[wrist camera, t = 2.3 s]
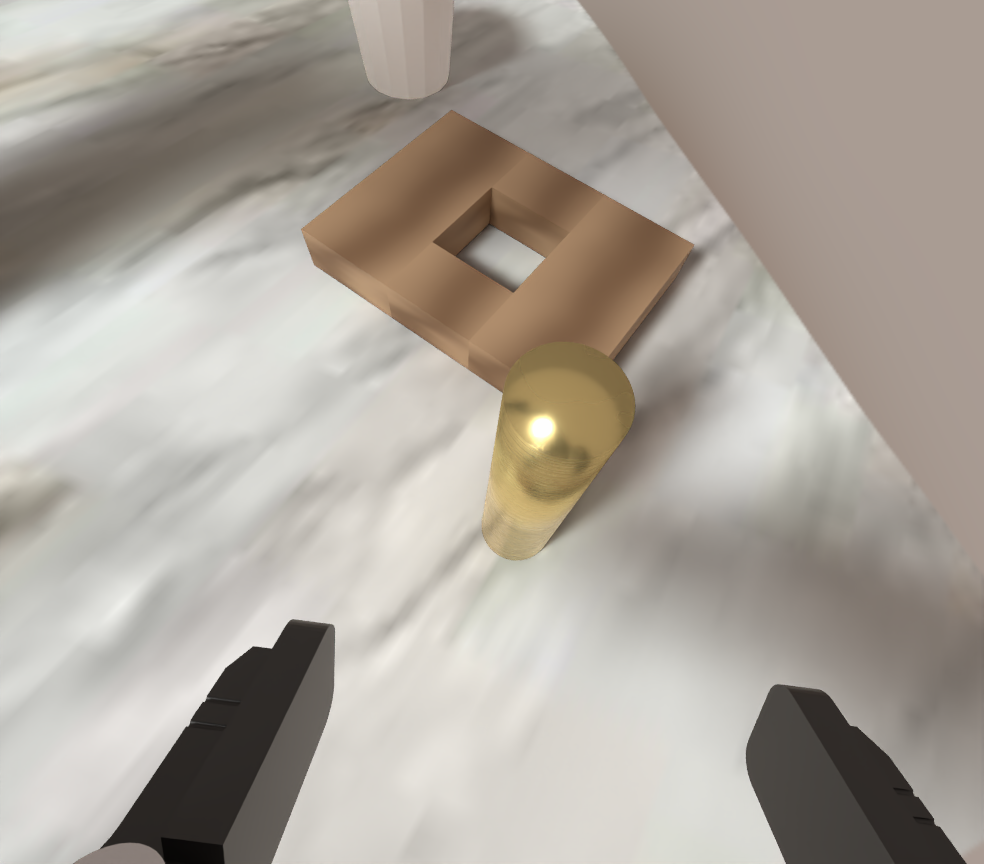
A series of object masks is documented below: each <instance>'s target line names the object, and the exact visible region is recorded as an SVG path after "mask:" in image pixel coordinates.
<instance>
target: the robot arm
mask: <svg viewBox="0 0 984 864" xmlns="http://www.w3.org/2000/svg"><path fill="white" fill-rule="evenodd" d="M334 659H335V628H334V625H332V624H325V623H317V622H310V621H302V620H294V619H292V620H290V621H289V622H288V624H287V625H286V626H285V628H284V630H283V631H282V633H281V635H280V637H279V638H278V640H277V642H276V643H275V645H274V647H273V648H272V649H270V648H262V647H254V646H253V647H252V648H251V649H249V650H248V651H247V652H246V653H244V654H243V655H242V656H241V657H239V658H238V659H237V660H235V661H234V662H233V663H232V664H230V665H229V666H228V667H227V668H226V669H225V670H224V671H223V673H222V674H221V676H220V677H219V679H218V680H217V682H216V683H215V685H214V686H213V688H212V689H211V691H210V692H209V694H208V695H207V698H206V701H205V702H203V703H202V704H201V706H200V707H199V708H198V710H197V711H196V713H195V714H194V716H193V717H192V719H191V721H190V725H189V726H188V727H186V728H185V729H184V731H183V732H182V734H181V735H180V737H179V738H178V740H177V741H176V743H175V744H174V746H173V747H172V748H171V750H170V751H169V753H168V754H167V756H166V757H165V759H164V760H163V762H162V763H161V765H160V766H159V768H158V769H157V771H156V772H155V774H154V775H153V777H152V778H151V780H150V781H149V783H148V784H147V785H146V787H145V788H144V790H143V791H142V793H141V794H140V796H139V797H138V799H137V800H136V802H135V803H134V805H133V806H132V808H131V809H130V811H129V812H128V814H127V815H126V817H125V818H124V820H123V821H122V822H121V824H120V825H119V827H118V828H117V829H116V831H115V832H114V833H113V835H112V836H111V837H110V838H109V839H108V840H107V842H106V843H105V844H104V845H103V846H102V847H101V848H100V849H99V850H97V851H94V852H92V853H90V854H88V855H86V856H85V857H83V858H81V859H79V860H78V861H76V862H75V863H73V864H271V863H272V861H273V858H274V856H275V853H276V850H277V848H278V845H279V843H280V840H281V838H282V835H283V833H284V830H285V827H286V825H287V822H288V820H289V817H290V815H291V812H292V809H293V807H294V804H295V802H296V799H297V797H298V794H299V792H300V789H301V786H302V784H303V781H304V779H305V776H306V774H307V771H308V769H309V766H310V763H311V761H312V758H313V756H314V753H315V751H316V748H317V746H318V743H319V740H320V738H321V735H322V733H323V730H324V728H325V725H326V722H327V719H328V715H329V712H330V708H331V703H332V698H333V691H334ZM746 764H747V770H748V775H749V778H750V781H751V784H752V786H753V789H754V791H755V793H756V796H757V798H758V800H759V802H760V805H761V807H762V809H763V812H764V814H765V816H766V819H767V821H768V823H769V825H770V828H771V830H772V832H773V835H774V837H775V839H776V842H777V844H778V846H779V848H780V851H781V853H782V855H783V858H784V860H785V862H786V864H966V863H965V861H964V860H963V858H962V857H961V855H960V854H959V853H958V851H957V850H956V849H955V847H954V846H953V844H952V843H951V842H950V840H949V839H948V837H947V836H946V835H945V833H944V832H943V831H942V829H941V828H940V827H938V826H936V825H935V824H934V818H933V817H932V815H931V814H930V813H929V811H928V810H927V808H926V807H925V806H924V804H923V803H922V802H921V800H920V799H919V797H915V796H914V794H913V789H912V788H911V786H910V785H909V784H908V782H907V781H906V779H905V778H904V777H903V775H902V774H901V773H900V771H899V770H898V768H897V767H896V766H895V764H894V763H893V761H892V760H891V759H890V757H889V756H888V755H887V754H886V753H885V752H884V751H882V750H881V749H880V748H879V747H878V746H877V745H876V744H875V743H874V742H873V741H872V740H871V739H869V738H868V737H867V736H866V735H865V734H864V733H863V732H862V731H861V730H860V729H859V728H858V727H855V726H850V725H849V724H848V722H847V721H846V719H845V718H844V716H843V715H842V713H841V712H840V710H839V709H838V708H837V706H836V705H835V703H834V702H833V700H832V699H831V698H830V697H829V696H828V695H827V694H826V693H825V692H824V691H822V690H818V689H810V688H803V687H795V686H788V685H779V684H777V685H774V686H773V687H772V688H771V689H770V691H769V693H768V695H767V698H766V700H765V703H764V705H763V707H762V710H761V712H760V714H759V717H758V719H757V721H756V724H755V726H754V728H753V731H752V733H751V736H750V738H749V740H748V743H747V748H746Z"/></svg>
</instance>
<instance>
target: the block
mask: <svg viewBox="0 0 984 864" xmlns="http://www.w3.org/2000/svg"><path fill="white" fill-rule="evenodd" d="M488 224H491V225H492V226H494V227H496V228H497V229H499V230H501V231H502V232H504V233H506V234H507V235H509V236H511V237H512V238H514V239H516V240H517V241H519V242H521V243H522V244H524V245H526V246H527V247H529V248H531V249H532V250H534V251H536V252H537V253H539V254H541V255H542V256H544V257H546V259H545V260H544V261H543V262H542V263H541V264H540V265H539V266H538V267H537V268H536V269H535V270H534V271H533V272H532V274H531V275H530V276H529V277H528V278H527V279H526V280H525V281H524V282H523V283H522V284H521V285H520V286H519V287H518V289H517V290H516V291H515V292H514V293H513V292H511V291H510V290H508V289H506V288H505V287H503V286H502V285H500V284H498V283H497V282H495V281H494V280H492V279H490V278H489V277H487V276H486V275H484V274H483V273H481V272H479V271H478V270H476V269H475V268H473V267H471V266H470V265H468V264H467V263H465V262H463V261H462V260H460V259H459V258H457V257H455V256H456V255H457V254H458V253H459V252H460V251H461V250H462V249H463V248H464V247H465V246H467V245H468V244H469V243H470V242H471V241H472V240H473V239H474V238H475V237H476V236H477V235H478V234H479V233H480V232H481V231H482V230H483V229H484V228H485V227H486V226H487V225H488ZM301 230H302V233H303V236H304V238H305V241H306V244H307V247H308V249H309V252H310V255H311V257H312V260H313V263H314V265H315V266H317V267H318V268H320V269H321V270H323V271H324V272H326V273H327V274H329V275H330V276H332V277H333V278H334V279H336V280H337V281H339V282H340V283H342V284H343V285H345V286H346V287H348V288H349V289H351V290H352V291H354V292H355V293H357V294H358V295H360V296H361V297H362V298H364V299H365V300H367V301H368V302H370V303H371V304H373V305H374V306H376V307H377V308H379V309H380V310H382V311H383V312H385V313H386V314H388V315H389V316H390V317H392V318H393V319H395V320H396V321H398V322H399V323H401V324H402V325H404V326H405V327H407V328H408V329H410V330H411V331H413V332H414V333H416V334H417V335H418V336H420V337H421V338H423V339H424V340H426V341H427V342H429V343H430V344H432V345H433V346H435V347H436V348H438V349H439V350H441V351H442V352H443V353H445V354H446V355H448V356H449V357H451V358H452V359H454V360H455V361H457V362H458V363H460V364H461V365H463V366H464V367H466V368H467V369H469V370H470V371H471V372H473V373H474V374H476V375H477V376H479V377H480V378H482V379H483V380H485V381H486V382H488V383H489V384H491V385H492V386H494V387H495V388H497V389H498V390H499V391H501V392H502V393H503V389H504V384H505V380H506V378H507V375H508V373H509V371H510V369H511V367H512V366H513V365H514V363H515V362H516V361H517V360H518V359H519V358H520V357H521V356H522V355H524V354H525V353H526V352H528V351H530V350H531V349H533V348H536V347H538V346H540V345H544V344H547V343H553V342H573V343H579V344H583V345H586V346H589V347H592V348H594V349H596V350H598V351H600V352H602V353H604V354H605V355H607V356H608V357H609V358H611V359H612V360H614V358H615V357H616V356H617V354H618V353H619V352H620V350H621V349H622V348H623V347H624V345H625V344H626V343H627V341H628V340H629V339H630V337H631V336H632V335H633V333H634V332H635V331H636V329H637V328H638V327H639V325H640V324H641V323H642V322H643V320H644V319H645V318H646V316H647V315H648V314H649V312H650V311H651V310H652V308H653V307H654V306H655V304H656V303H657V302H658V300H659V299H660V298H661V297H662V295H663V294H664V293H665V291H666V290H667V289H668V287H669V286H670V285H671V283H672V282H673V281H674V279H675V278H676V277H677V275H678V273H679V271H680V269H681V268H682V266H683V264H684V262H685V261H686V259H687V257H688V255H689V254H690V252H691V250H692V248H693V247H694V244H692V243H690V242H688V241H687V240H685V239H683V238H681V237H679V236H678V235H676V234H674V233H672V232H670V231H669V230H667V229H665V228H663V227H661V226H660V225H658V224H656V223H654V222H652V221H651V220H649V219H647V218H645V217H643V216H642V215H640V214H638V213H636V212H634V211H633V210H631V209H629V208H627V207H625V206H624V205H622V204H620V203H618V202H616V201H615V200H613V199H611V198H609V197H607V196H606V195H604V194H602V193H600V192H598V191H597V190H595V189H593V188H591V187H589V186H588V185H586V184H584V183H582V182H580V181H579V180H577V179H575V178H573V177H571V176H570V175H568V174H566V173H564V172H562V171H561V170H559V169H557V168H555V167H553V166H552V165H550V164H548V163H546V162H544V161H543V160H541V159H539V158H537V157H535V156H534V155H532V154H530V153H528V152H526V151H525V150H523V149H521V148H519V147H517V146H516V145H514V144H512V143H510V142H508V141H507V140H505V139H503V138H501V137H499V136H498V135H496V134H494V133H492V132H490V131H489V130H487V129H485V128H483V127H481V126H480V125H478V124H476V123H474V122H472V121H471V120H469V119H467V118H465V117H463V116H462V115H460V114H458V113H456V112H454V111H453V110H451V111H450V112H448V113H447V114H446V115H445V116H443V117H442V118H441V119H440V120H438V121H437V122H436V123H435V124H433V125H432V126H431V127H430V128H428V129H427V130H426V131H424V132H423V133H422V134H421V135H419V136H418V137H417V138H416V139H414V140H413V141H412V142H411V143H409V144H408V145H407V146H406V147H404V148H403V149H402V150H400V151H399V152H398V153H397V154H395V155H394V156H393V157H392V158H390V159H389V160H388V161H387V162H385V163H384V164H383V165H382V166H380V167H379V168H378V169H377V170H375V171H374V172H373V173H371V174H370V175H369V176H368V177H366V178H365V179H364V180H363V181H361V182H360V183H359V184H358V185H356V186H355V187H354V188H353V189H351V190H350V191H349V192H347V193H346V194H345V195H344V196H342V197H341V198H340V199H339V200H337V201H336V202H335V203H334V204H332V205H331V206H330V207H329V208H327V209H326V210H325V211H323V212H322V213H321V214H320V215H318V216H317V217H316V218H315V219H313V220H312V221H311V222H310V223H308V224H307V225H306V226H305V227H303V228H302V229H301Z"/></svg>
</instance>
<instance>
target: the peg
mask: <svg viewBox="0 0 984 864" xmlns="http://www.w3.org/2000/svg"><path fill="white" fill-rule="evenodd" d="M634 414H635V398H634V393H633V390H632V387H631V384H630V382H629V380H628V378H627V376H626V375H625V373H624V372H623V371H622V369H621V368H620V367H619V366H618V365H617V364H616V363H615V362H614V361H613V360H612V359H611V358H609V357H608V356H607V355H605V354H604V353H602V352H600V351H598V350H596V349H594V348H592V347H589V346H586V345H583V344H579V343H573V342H553V343H547V344H544V345H540V346H538V347H536V348H533V349H531V350H530V351H528V352H526V353H525V354H524V355H522V356H521V357H520V358H519V359H518V360H517V361H516V362H515V363H514V365H513V366H512V367H511V369H510V371H509V373H508V375H507V378H506V380H505V384H504V389H503V396H502V402H501V408H500V414H499V420H498V426H497V432H496V439H495V445H494V451H493V457H492V463H491V469H490V475H489V481H488V488H487V494H486V500H485V506H484V512H483V518H482V532H483V536H484V539H485V541H486V543H487V544H488V546H489V547H490V548H491V549H492V550H493V551H494V552H495V553H496V554H498V555H499V556H501V557H503V558H506V559H510V560H524V559H528V558H530V557H532V556H534V555H536V554H537V553H538V552H539V551H540V550H541V549H542V548H543V547H544V546H545V544H546V543H547V542H548V540H549V539H550V537H551V536H552V535H553V533H554V532H555V531H556V529H557V528H558V527H559V525H560V524H561V523H562V521H563V520H564V519H565V517H566V516H567V514H568V513H569V512H570V510H571V509H572V508H573V506H574V505H575V504H576V502H577V501H578V500H579V498H580V497H581V496H582V494H583V493H584V491H585V490H586V489H587V487H588V486H589V485H590V483H591V482H592V481H593V479H594V478H595V477H596V475H597V474H598V473H599V471H600V470H601V468H602V467H603V466H604V464H605V463H606V462H607V460H608V459H609V458H610V456H611V455H612V454H613V452H614V451H615V450H616V448H617V447H618V445H619V444H620V443H621V441H622V440H623V439H624V437H625V436H626V435H627V433H628V431H629V429H630V427H631V425H632V422H633V419H634Z"/></svg>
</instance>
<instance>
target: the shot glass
mask: <svg viewBox="0 0 984 864" xmlns="http://www.w3.org/2000/svg"><path fill="white" fill-rule="evenodd" d="M348 2H349V6H350V10H351V15H352V19H353V23H354V27H355V31H356V35H357V39H358V43H359V47H360V51H361V55H362V59H363V63H364V67H365V71H366V75H367V78H368V81H369V83H370V84H371V85H372V86H373V87H374V88H375V89H376V90H377V91H378V92H380V93H383V94H385V95H388V96H390V97H392V98H400V99H408V100H410V99H418V98H425V97H428V96H430V95H432V94H434V93H437V92H439V91H440V90H441V89H442V88H443V87H444V85H445V84H446V83H447V81H448V76H449V69H450V54H451V40H452V25H453V11H454V0H348Z"/></svg>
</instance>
